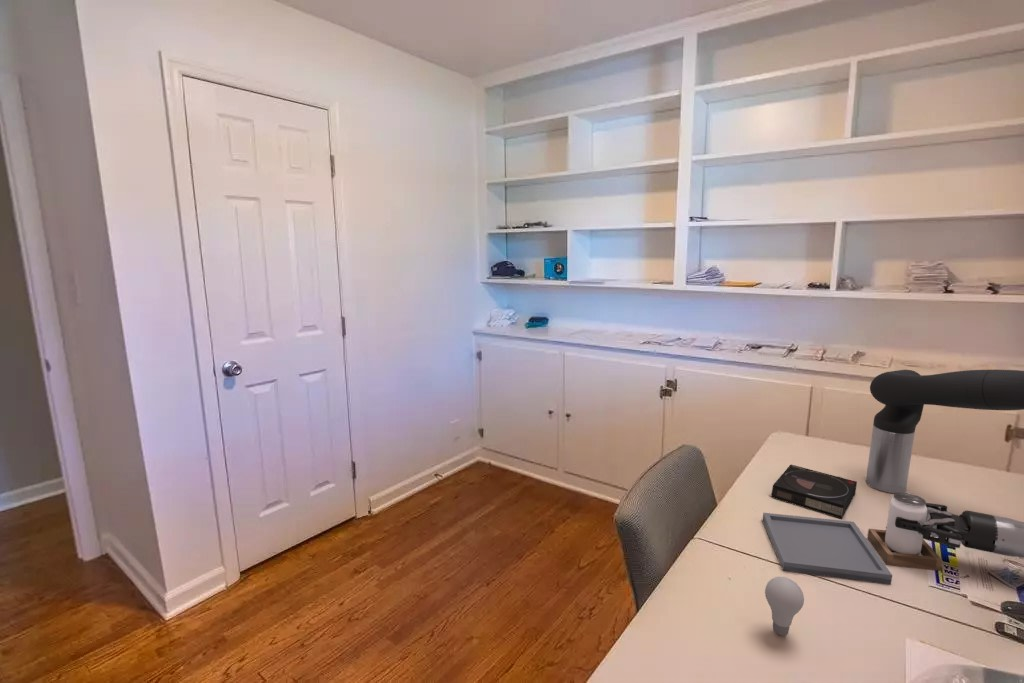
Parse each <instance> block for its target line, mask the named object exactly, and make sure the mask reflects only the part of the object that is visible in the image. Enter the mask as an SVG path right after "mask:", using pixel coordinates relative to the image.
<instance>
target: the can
mask: <svg viewBox="0 0 1024 683" xmlns="http://www.w3.org/2000/svg"><path fill="white" fill-rule="evenodd" d="M926 501H927V500H925V499H924V498H922V497H921V496H919V495H917V494H914V493H909V492H906V491H905V492H898V493H893V496H892V498H891V499H890V501H889V502H890V503H889V509H888V514H887V515H888V516H887V523H886V529H885V530H886V535H885V542H884V543H885V545H886V546H887V547H888V548H889V550H890V551H893V552H894V553H903V554H912V555H919V554H921V553H920V552H921V548H922V542H923V535H921V534H918V533H917V531H912V530H907V529H902V528H897V527H896V526H895V520H896V517H902V518H905V519H908V520H914V521H918V523H919V522H920V521H926V516H927V507H926V505H925V504H926V503H927V502H926Z"/></svg>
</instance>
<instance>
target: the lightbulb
mask: <svg viewBox="0 0 1024 683" xmlns="http://www.w3.org/2000/svg"><path fill="white" fill-rule="evenodd" d="M764 594H765V599H766V601H767V603H768V606H769V607H770V610H771V620H772V631H773V632H774V633H776V634H777V635H779V636H784V637H785V636H787V635H788V634H789V631H790V626H791V625H792V623H793V622H792V621H793V620H794V617H795V616H796V614H799V612H800V611H801V609H802V608H803V607H804V605H805V604H804V603H805V596H804V592H803V591H802V588H801V587H800V586H799V584H798V583H797V582H796V581H794V580H792V579H791V578H789V577H785V576H775V577H772V578H771V579H770V580H769V581H767V583H766V585H765V589H764Z"/></svg>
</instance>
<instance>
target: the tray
mask: <svg viewBox="0 0 1024 683" xmlns="http://www.w3.org/2000/svg"><path fill="white" fill-rule="evenodd" d="M762 522H763V525H764V527H765V530H766V532H767V535H768V537H769V538H768V539H769V540H770V542H771V545H772V547H773V549H774V552H775V555H776V557H777V559H778V561H779V564H780V566H781V567H780V568H781V569H782V572H785V573H786V572H787V573H796V574H802V575H804V574H805V575H812V576H819V577H827V578H835V579H842V580H843V579H844V580H850V581H851V580H852V581H859V582H865V583H866V582H868V583H873V584H874V583H875V584H882V585H892V578H893V574H892V572H891V571H890V570H889V569H888V567H887V566H886V563H885V562H883V559H882V558H881V556H880V555H879V554H878V552H877V551H876V549H875V548H874V547H872V546H873V545H872V544H871V542H870V541H869V540H868V538H866V536H865V535H864V533H862V530H860V528H859V526H858V525H857V524H856V522H855V521H851V520H850V521H849V520H842V519H830V518H819V517H809V516H800V515H791V514H790V515H789V514H780V513H773V512H772V513H771V512H763V513H762Z"/></svg>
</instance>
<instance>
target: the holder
mask: <svg viewBox="0 0 1024 683" xmlns="http://www.w3.org/2000/svg"><path fill="white" fill-rule="evenodd" d="M885 535H886V529H885V530H884V529H876V528H868V531H867V541H868V542H869V543H870V545H871V546H873V547H872V548H873V549H874V550H875V552H876V553H877V554H878V556H879V557H880V559H881V560H882V561H884V562H883V563H884V564H885V566H886V565H887V566H894V567H903V568H911V569H912V568H913V569H919V570H920V569H921V570H930V571H937V570H938V571H939V572H941V571H942V566H943V562H944V561H943V559H942V558H941V557H940V556H939V555H938V554H937V553H936V552H935V550H934V549H933V548H932V547H931V546H930V545H929V544H928V543H927V542H926V541H925V539H923V542H922V548H921V552H920V553H919V554H921V555H919V554H917V555H912V554H903V553H897V552H895V551H893V552H892V550H891V549H890V548H889V547H888V546H887V545H886V543H885Z"/></svg>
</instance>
